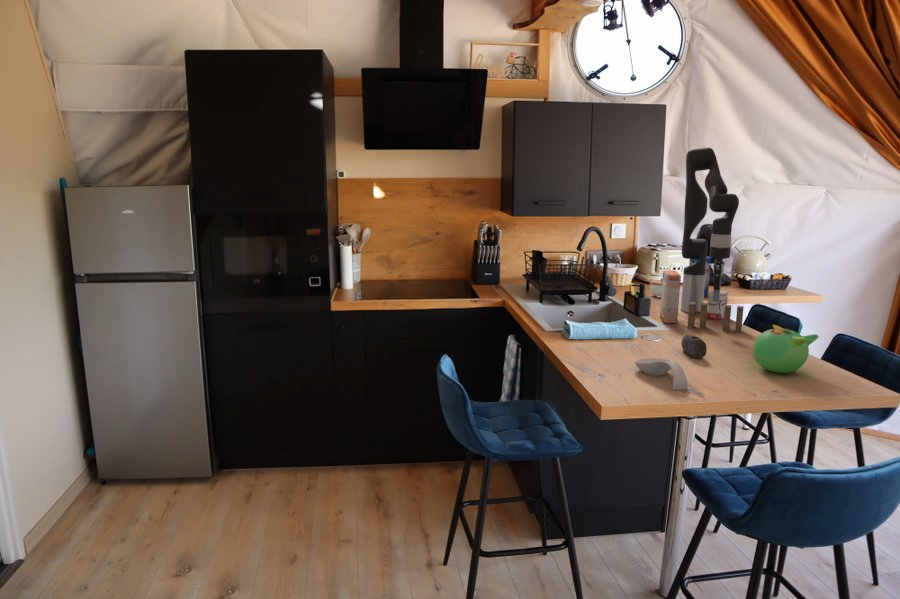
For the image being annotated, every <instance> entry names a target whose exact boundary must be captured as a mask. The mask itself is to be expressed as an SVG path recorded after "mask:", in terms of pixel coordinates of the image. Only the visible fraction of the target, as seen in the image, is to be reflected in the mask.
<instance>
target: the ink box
mask: <svg viewBox="0 0 900 599" xmlns="http://www.w3.org/2000/svg"><path fill="white" fill-rule="evenodd" d="M728 297H729V291H725V290H721V289H720V298H719V302H714V301H713V291H708V297H707V298H708V299H707V303H708V308H707V320H708V319H709V320H715V321H719V320H721V319H724V318H723V317H724V311H725V305H728Z"/></svg>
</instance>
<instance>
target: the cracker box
mask: <svg viewBox="0 0 900 599" xmlns="http://www.w3.org/2000/svg"><path fill="white" fill-rule="evenodd" d="M662 278H663V282H662V295H661V298H660V309H659V310H660V312H659V317H660V319H661V321H662V323H663V324H671V323H674V324H673V325H675V324H676V325H677V324H678V316H679V314H678V313H679V303H680V292H681V291H680V290H681V280H682V279H681V278H682V276H681V274H680V273H679V272H678V271H676V270H663V271H662Z"/></svg>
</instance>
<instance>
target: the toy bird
mask: <svg viewBox="0 0 900 599" xmlns="http://www.w3.org/2000/svg"><path fill="white" fill-rule="evenodd" d="M772 327H773V328H771V329H767V330H765V331H763V332H762V333H761V334H760V335H758V337H757V338H756V340H755V341H754V344H753V348H752V354H753V357H754V359H755V361H756V362H757V364H758V365H760V366H761V367H762V368H764V369H765V370H768V371H770V372H773V373H777V374H788V373H792V372H796V371H797V370H800V368H802V367H803V366H804V364H805V363H806V362H807V360H808V358H809V352H810V348H809V346H810V345H811V344H812V343H814V342H816V340H817V339H819V334H816V333H815V334H809V335H801V334H800V333H798V332H797V331H795V330H792V329H790V328H783V327H781V326H779V325H777V324H772Z"/></svg>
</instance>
